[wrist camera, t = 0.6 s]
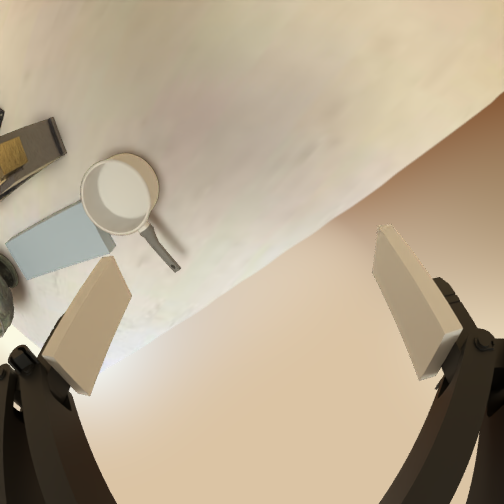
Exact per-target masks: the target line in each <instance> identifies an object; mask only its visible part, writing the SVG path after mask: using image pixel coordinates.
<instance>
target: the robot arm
mask: <svg viewBox="0 0 504 504" xmlns="http://www.w3.org/2000/svg"><path fill="white" fill-rule="evenodd" d="M372 273H373V275H374V277H375V279H376V281H377V283H378V285H379V287H380V289H381V292H382V294H383V296H384V298H385V300H386V302H387V304H388V306H389V309H390V311H391V313H392V315H393V317H394V320H395V322H396V324H397V327H398V329H399V331H400V333H401V336H402V338H403V341H404V343H405V346H406V348H407V350H408V353H409V355H410V358H411V360H412V363H413V366H414V368H415V371H416V374H417V376H418V379H419V381H421V380H424V379H427V378H430V377H433V376H436V374H437V373H438V371H439V370H440V368H441V367H442V370H443V372H444V376H443V377H442V379H441V380H440V381H439V383H438V384H437V386H436V388H435V389H436V390H437V389H438V391H437V393H436V396H435V399H434V401H433V404H432V406H431V409H430V411H429V413H428V416H427V418H426V420H425V423H424V425H423V427H422V429H421V432H420V434H419V436H418V438H417V440H416V442H415V444H414V446H413V448H412V450H411V452H410V453H409V456H408V458H407V459H406V461H405V463H404V464H403V466H402V468H401V470H400V472H399V473H398V475H397V477H396V478H395V480H394V481H393V483H392V485H391V486H390V488H389V489H388V491H387V492H386V494H385V495H384V497H383V498H382V500H381V501H380V503H379V504H450V502H451V500H452V498H453V496H454V494H455V492H456V490H457V488H458V486H459V483H460V481H461V479H462V477H463V474H464V472H465V470H466V467H467V465H468V462H469V460H470V457H471V455H472V452H473V449H474V446H475V444H476V441H477V437H478V434H479V442H478V449H477V456H476V462H475V467H474V473H473V477H472V482H471V486H470V491H469V494H468V498H467V502H466V504H504V339H495V338H494V336H493V335H492V334H491V333H490V332H488V331H486V330H484V329H479V328H477V327H476V325H475V323H474V321H473V320H472V318H471V317H470V315H469V313H468V312H467V310H466V309H465V307H464V306H463V304H462V302H460V300H459V298H458V296H457V295H455V292H454V291H453V289H452V288H451V286H450V285H449V284H448V283H447V282H445V281H444V280H443V279H442V278H440V277H438V278H433V279H432V278H431V276H430V275H429V273H428V272H427V270H426V269H425V268H424V266H423V265H422V263H421V262H420V261H419V259H418V258H417V257H416V255H415V254H414V252H413V251H412V250H411V248H410V247H409V246H408V244H407V243H406V242H405V240H404V239H403V238H402V237H401V235H400V234H399V233H398V231H397V230H396V229H395V228H394V227H393V225H392V224H390V225H379V226H377V237H376V246H375V255H374V263H373V271H372ZM131 297H132V295H131V293H130V291H129V289H128V287H127V285H126V283H125V280H124V278H123V276H122V274H121V272H120V270H119V268H118V265H117V263H116V261H115V259H114V257H113V256H109V257H102V258H101V260H100V261H99V262H98V264H97V265H96V267H95V268H94V269H93V271H92V272H91V274H90V275H89V277H88V278H87V280H86V281H85V283H84V284H83V286H82V287H81V289H80V290H79V292H78V293H77V295H76V296H75V298H74V300H73V301H72V303H71V304H70V306H69V308H68V309H67V311H66V312H65V313H64V314H63V315H62V316H61V317H60V318H59V319H58V321H57V323H56V325H55V326H54V329H53V330H52V331H51V333H50V335H49V337H48V338H47V340H46V342H45V344H44V346H43V348H42V349H41V351H40V353H39V355H38V357H37V358H36V356H35V355H34V354H33V353H32V352H31V351H30V349H29V348H28V347H27V346H26V345H20V346H17V347H16V348H15V349H14V350H13V351H12V353H11V354H10V356H9V358H8V363H9V364H10V365H11V366H12V367H13V368H14V369H15V370H13V369H12V368H11V367H10V365H8V364H3V365H1V366H0V504H117V503H116V501H115V499H114V498H113V496H112V494H111V492H110V490H109V489H108V486H107V484H106V482H105V480H104V478H103V476H102V474H101V472H100V470H99V467H98V465H97V463H96V461H95V459H94V456H93V454H92V451H91V449H90V446H89V444H88V441H87V439H86V436H85V433H84V430H83V428H82V425H81V422H80V419H79V416H78V413H77V410H76V407H75V403H74V400H73V397H72V395H71V393H70V392H69V388H70V386H71V387H72V388H73V389H74V390H75V391H76V392H77V393H79V394H83V395H88V396H90V395H91V392H92V389H93V387H94V384H95V381H96V379H97V376H98V374H99V371H100V368H101V366H102V363H103V361H104V358H105V356H106V353H107V351H108V349H109V346H110V344H111V342H112V339H113V337H114V335H115V332H116V330H117V328H118V325H119V323H120V321H121V319H122V316H123V314H124V312H125V310H126V308H127V306H128V303H129V301H130V299H131ZM14 402H15V403H16V404H17V405H19V406H20V407H21V409H20V411H18V410H16V409H15V408H14V407H13V403H14ZM479 431H480V432H479Z"/></svg>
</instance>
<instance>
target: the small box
mask: <svg viewBox="0 0 504 504" xmlns="http://www.w3.org/2000/svg"><path fill="white" fill-rule="evenodd" d="M3 114H4V111H3V110H2V109H0V126H1V122H2V118H3Z"/></svg>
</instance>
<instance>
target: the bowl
mask: <svg viewBox="0 0 504 504" xmlns="http://www.w3.org/2000/svg"><path fill="white" fill-rule="evenodd" d="M17 284H18V276H17V273H16V270H15V269H14V267H13V265H12V264H11V263H10V261H9V260H8V259H7V258H6V257H4V256H3V255H1V254H0V338H1V337H3V335H4V333H5V332H6V330H7V328H8V327H9V326H10V325H11V323H12V319H13V315H14V306H13V297H12V293H11V291H10V289H9V287H10V288H14V287H15V286H16V285H17Z"/></svg>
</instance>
